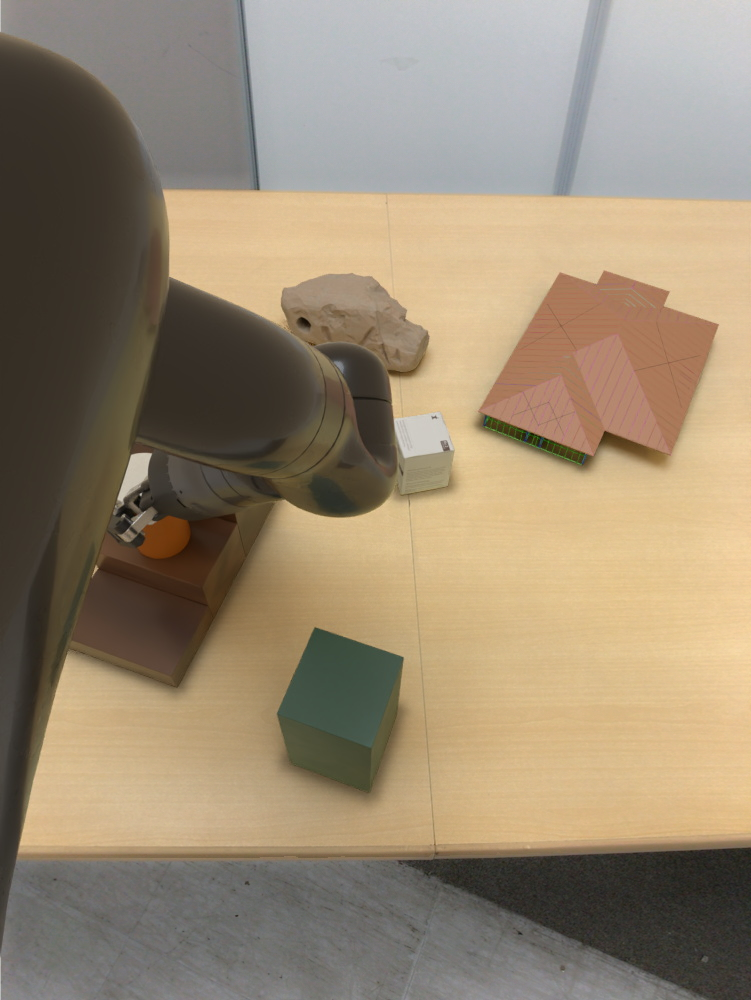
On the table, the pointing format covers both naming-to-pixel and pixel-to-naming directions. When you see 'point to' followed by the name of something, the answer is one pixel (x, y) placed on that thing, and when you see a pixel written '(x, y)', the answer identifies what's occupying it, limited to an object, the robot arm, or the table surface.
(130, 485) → the amber bottle
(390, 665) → the stand
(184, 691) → the table surface
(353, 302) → the decorative stone
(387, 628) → the table surface
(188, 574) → the riser
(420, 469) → the product carton
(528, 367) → the house
